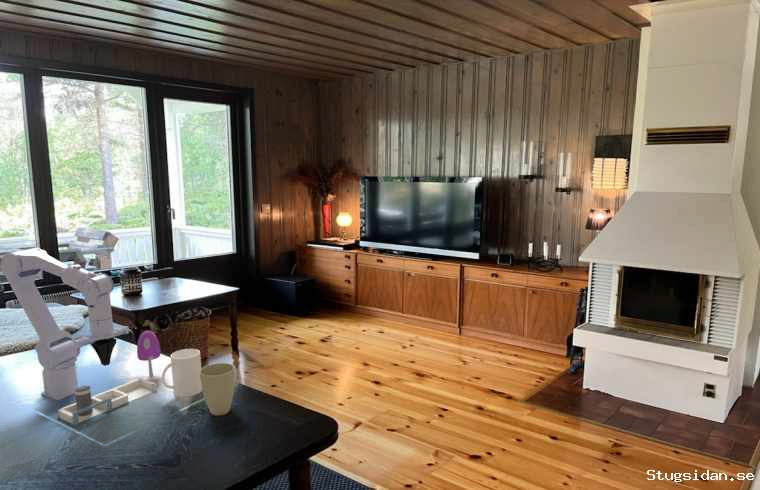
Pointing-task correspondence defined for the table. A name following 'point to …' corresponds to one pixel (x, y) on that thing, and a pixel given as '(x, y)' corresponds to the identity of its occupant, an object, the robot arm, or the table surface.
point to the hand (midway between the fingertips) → (105, 364)
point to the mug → (185, 372)
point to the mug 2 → (218, 386)
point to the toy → (148, 348)
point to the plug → (83, 399)
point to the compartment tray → (108, 400)
